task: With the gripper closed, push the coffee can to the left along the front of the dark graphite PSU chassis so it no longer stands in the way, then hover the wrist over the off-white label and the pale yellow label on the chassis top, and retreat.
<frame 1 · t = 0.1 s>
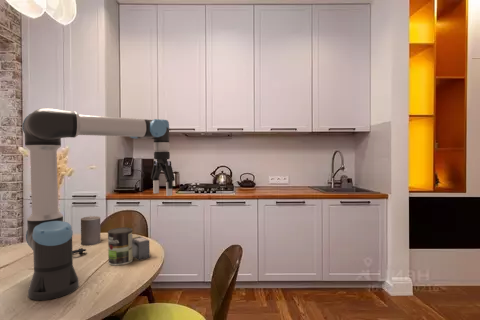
hand: (162, 194, 148), 28 cm above the table, fingers open, 13 cm apart
pillar candle: (91, 243, 164), on the table
coffee can: (120, 261, 134), on the table
psu chassis: (137, 255, 142), on the table
milk frother: (66, 255, 144), on the table
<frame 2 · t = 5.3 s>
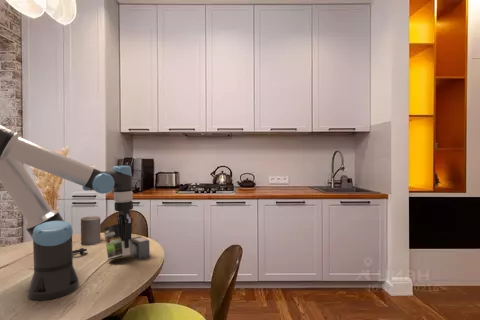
hand: (126, 254, 131), 4 cm above the table, fingers closed
coffee can: (120, 257, 135), point 2 cm above the table, touching gripper, hand
everything else where it was.
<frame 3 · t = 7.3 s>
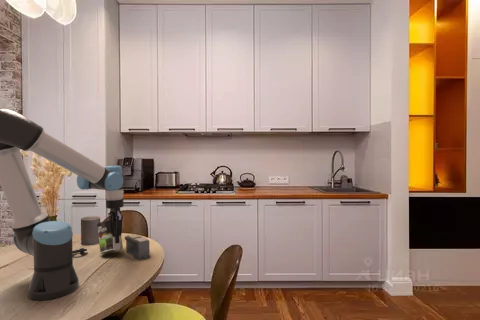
hand: (116, 249, 139), 4 cm above the table, fingers closed
coffee can: (112, 251, 143), point 2 cm above the table, touching gripper, hand
everything else where it was.
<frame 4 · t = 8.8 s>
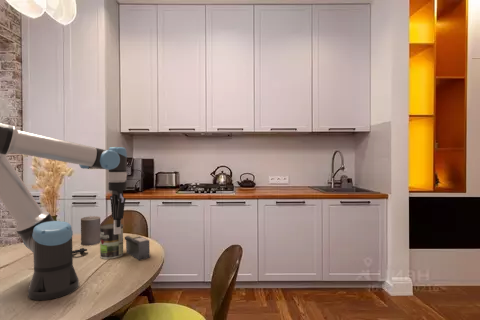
hand: (117, 233, 135), 12 cm above the table, fingers closed
coffee can: (112, 255, 143), on the table
everything else where it was.
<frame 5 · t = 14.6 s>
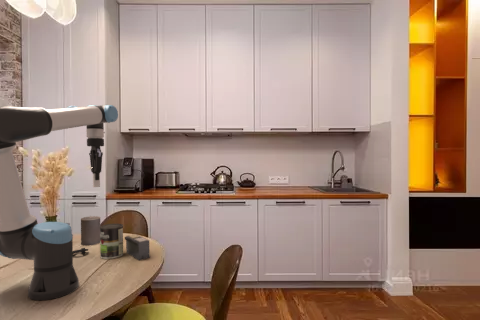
hand: (96, 186, 145), 32 cm above the table, fingers closed
at the end: coffee can inside the target area (6.2 cm from its centre), on the table; coffee can moved 11.3 cm from its start; coffee can tilted 0° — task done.
